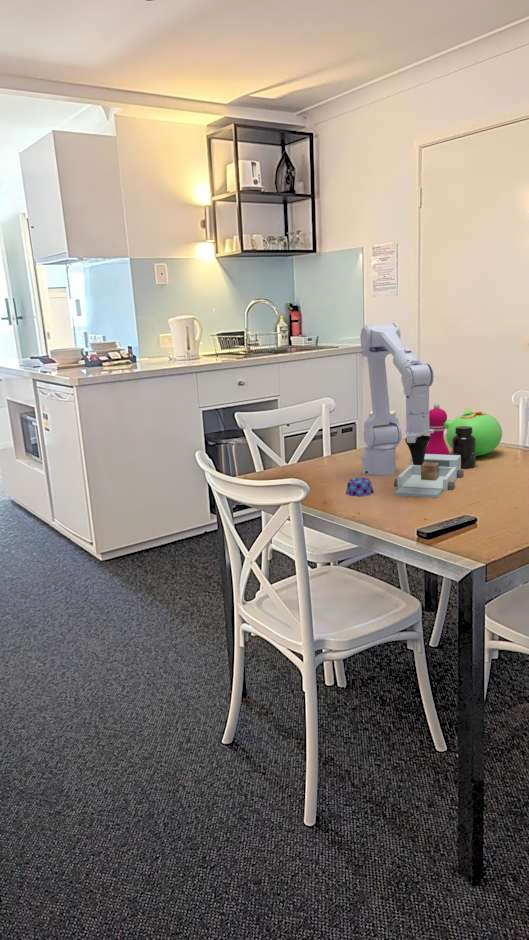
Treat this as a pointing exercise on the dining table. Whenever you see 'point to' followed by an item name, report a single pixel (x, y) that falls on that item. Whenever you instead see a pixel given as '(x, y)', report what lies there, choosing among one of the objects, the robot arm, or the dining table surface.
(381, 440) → the robot arm
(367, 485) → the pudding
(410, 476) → the ute bed
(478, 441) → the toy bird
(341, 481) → the dining table surface
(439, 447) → the pepper mill
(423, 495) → the panel
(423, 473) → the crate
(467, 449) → the supplement bottle
